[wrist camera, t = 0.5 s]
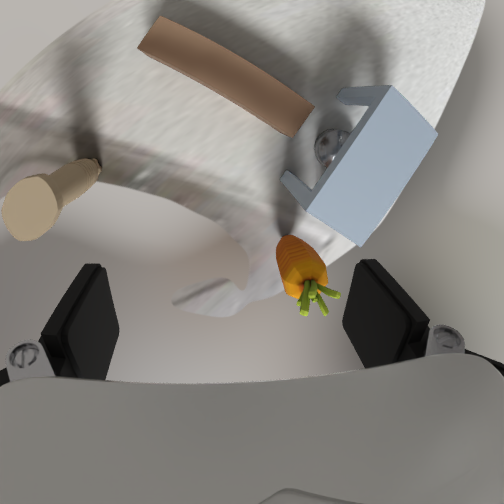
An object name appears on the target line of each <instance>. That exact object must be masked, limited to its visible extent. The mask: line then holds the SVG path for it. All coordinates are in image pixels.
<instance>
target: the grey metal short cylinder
mask: <svg viewBox="0 0 504 504" xmlns="http://www.w3.org/2000/svg"><path fill="white" fill-rule="evenodd" d="M349 136H350V133H348V132H346V131H342V130H338V129H329V130H326V131H324V132H323V133H321V134H320V135H319V137H318V138H317V140H316V142H315V149H314V150H315V155H316V158H317V159H318V161H319V162H320V163H321V164H322V165H324V166H325V167H327V168H328V166H329V165H330V164H331V162H332V161H333V159H334V158H335V156H336V155H337V153H338V152H339V150H340V149H341V148H342V146H343V145H344V143H345V142H346V140H347V139H348V137H349Z"/></svg>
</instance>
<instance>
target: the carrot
mask: <svg viewBox="0 0 504 504" xmlns="http://www.w3.org/2000/svg"><path fill="white" fill-rule="evenodd" d="M276 260H277V264H278V267H279V271H280V275H281V279H282V282H283V285H284V289H285V292H286V293H287V294H288V295H290V296H292V297H294V298H297V299H299V300H298V302H297V306H300V314H301V315H303V316H307V315H308V312H309V305H310V298H311V300H312V301H313V302H316V301H317V302H318V304H319V307H320V309H321V311H322V313H323V315H324V316H326V315H327V314H328V312H329V311H328V308H327V307H326V305H325V303H324V301H323V299H322V297H321V296H320V293H321V292H323V293H325V294H326V295H328V296H330V297H333V298H338V299H339V298H340V295H341V293H340V292H337V291H334V290H331V289H329V288H327V287H325V286H326V285H327V283H328V277H327V271H326V265H325V263H324V262H323V260H322V259H321V258H320V256H319V255H318V254H317V252H316V251H315V250H314V249H313V248H312V247H311V246H310V245H309V244H307V243H306V242H304V241H303V240H301V239H299V238H297V237H295V236H294V235H286V236H283V237H282V238H281V240H280V241H279V243H278V245H277V247H276Z"/></svg>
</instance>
